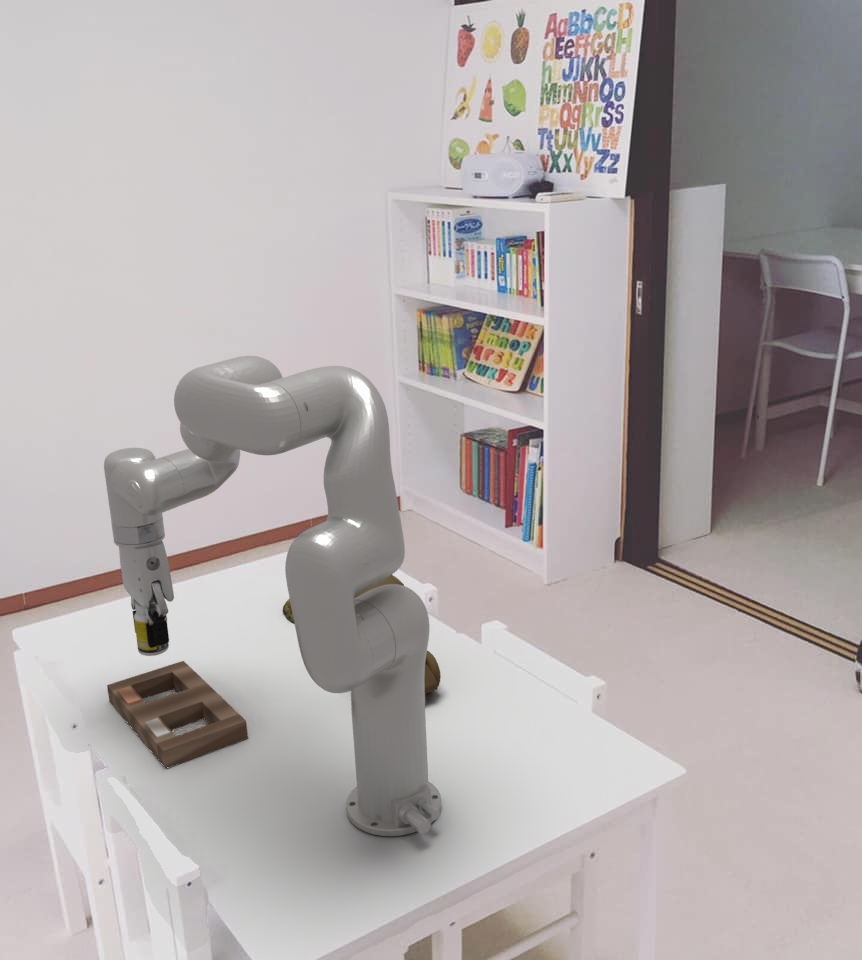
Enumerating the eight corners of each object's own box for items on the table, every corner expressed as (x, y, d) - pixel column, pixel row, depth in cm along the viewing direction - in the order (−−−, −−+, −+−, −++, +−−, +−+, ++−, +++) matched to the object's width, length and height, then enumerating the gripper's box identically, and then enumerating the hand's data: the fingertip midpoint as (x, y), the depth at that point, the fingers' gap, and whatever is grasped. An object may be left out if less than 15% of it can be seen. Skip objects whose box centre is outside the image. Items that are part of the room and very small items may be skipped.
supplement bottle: (161, 657, 167) (155, 608, 165) (133, 655, 168) (126, 606, 165) (174, 643, 172) (168, 595, 169) (146, 641, 173) (140, 593, 170)
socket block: (248, 738, 162) (246, 718, 161) (165, 768, 155) (162, 748, 154) (185, 676, 181) (183, 658, 180) (109, 701, 174) (106, 682, 173)
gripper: (183, 540, 159) (196, 651, 165) (142, 509, 172) (155, 612, 178) (134, 553, 155) (149, 666, 161) (95, 519, 168) (110, 625, 174)
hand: (152, 637), depth 169 cm, fingers closed on supplement bottle, 4 cm apart
